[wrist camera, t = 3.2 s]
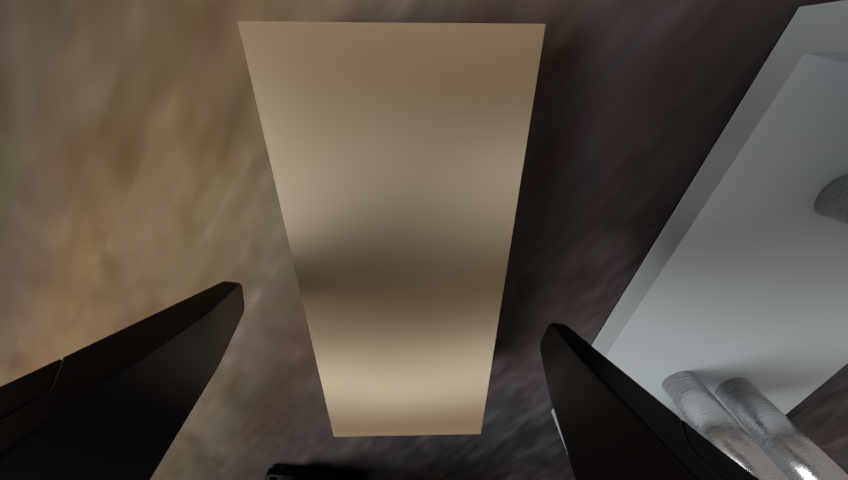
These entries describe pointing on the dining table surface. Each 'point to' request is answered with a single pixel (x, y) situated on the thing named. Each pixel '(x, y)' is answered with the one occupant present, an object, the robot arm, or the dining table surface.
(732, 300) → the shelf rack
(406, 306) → the shelf board
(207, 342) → the robot arm
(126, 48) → the dining table surface
